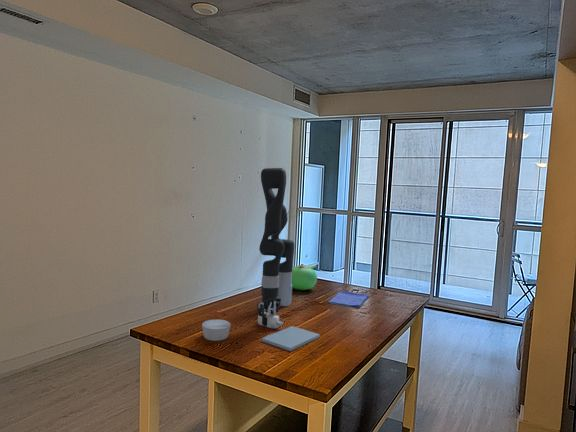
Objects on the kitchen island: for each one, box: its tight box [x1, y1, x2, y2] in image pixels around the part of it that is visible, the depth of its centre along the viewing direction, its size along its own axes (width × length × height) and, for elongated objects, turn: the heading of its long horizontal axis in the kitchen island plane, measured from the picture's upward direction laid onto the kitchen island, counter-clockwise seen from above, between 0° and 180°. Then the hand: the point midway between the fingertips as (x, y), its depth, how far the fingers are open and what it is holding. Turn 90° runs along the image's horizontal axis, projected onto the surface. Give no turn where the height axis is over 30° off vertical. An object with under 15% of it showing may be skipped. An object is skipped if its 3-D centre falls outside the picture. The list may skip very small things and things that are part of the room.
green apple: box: [292, 264, 318, 291], centre depth 250 cm, size 18×17×15 cm
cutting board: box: [261, 325, 321, 352], centre depth 169 cm, size 20×14×1 cm
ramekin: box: [201, 318, 231, 342], centre depth 168 cm, size 11×11×5 cm
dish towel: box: [328, 290, 369, 309], centre depth 232 cm, size 17×24×3 cm
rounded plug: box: [257, 312, 284, 329], centre depth 184 cm, size 4×13×4 cm, turn 53°
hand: (268, 323), depth 184 cm, fingers closed on rounded plug, 4 cm apart
